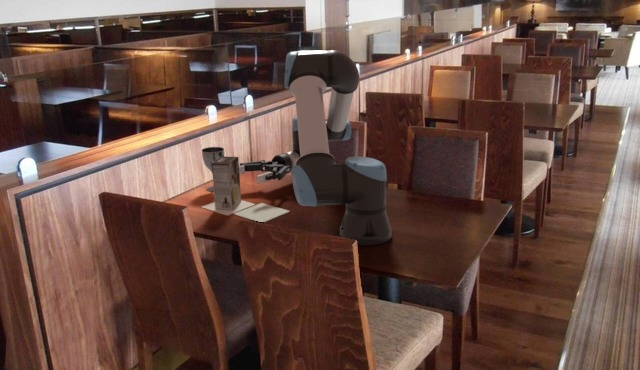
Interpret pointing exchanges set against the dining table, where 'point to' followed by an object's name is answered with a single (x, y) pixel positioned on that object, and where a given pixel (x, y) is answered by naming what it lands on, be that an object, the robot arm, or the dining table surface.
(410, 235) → the dining table surface
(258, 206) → the set down mat
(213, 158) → the wine glass
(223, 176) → the coffee box
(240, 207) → the tile
